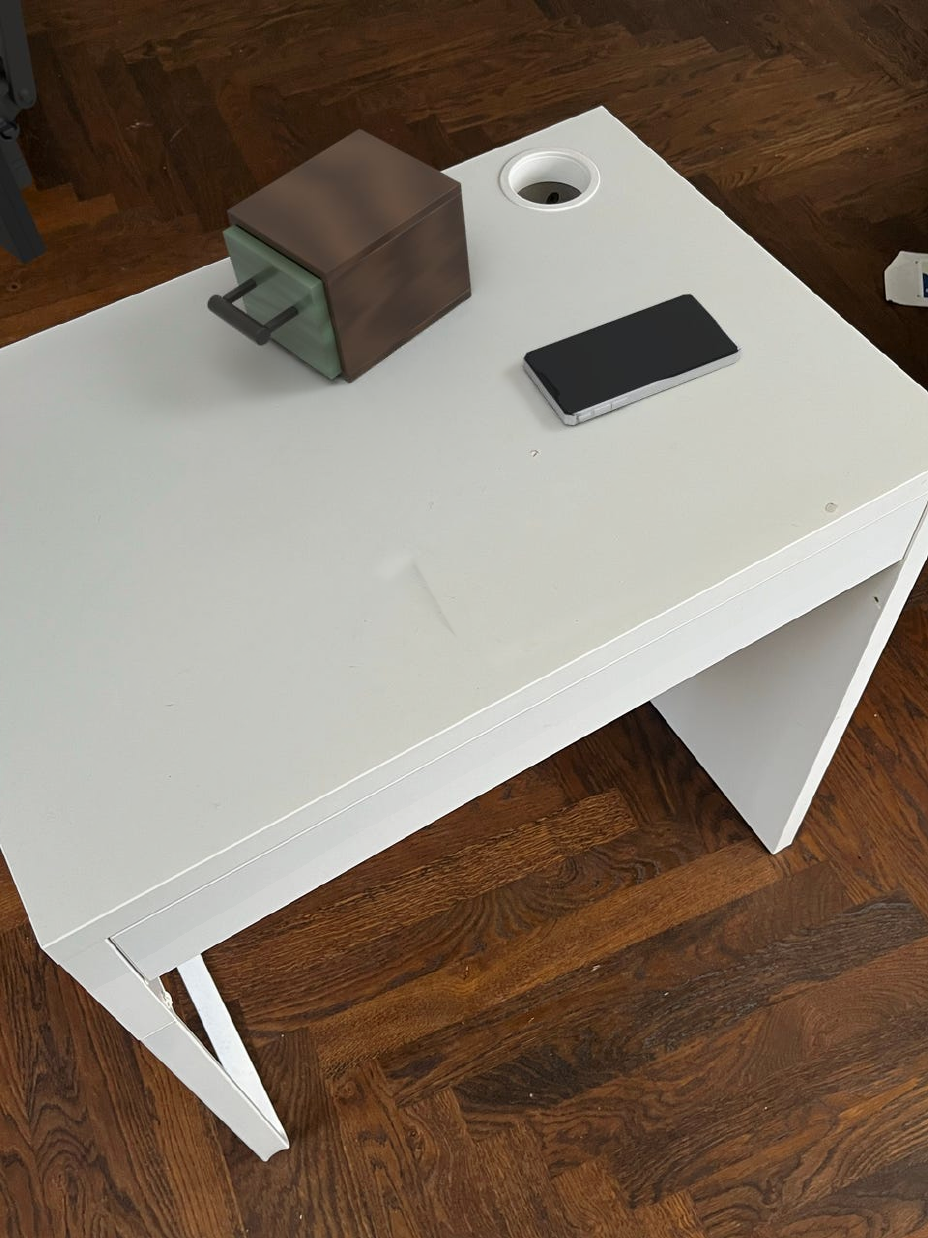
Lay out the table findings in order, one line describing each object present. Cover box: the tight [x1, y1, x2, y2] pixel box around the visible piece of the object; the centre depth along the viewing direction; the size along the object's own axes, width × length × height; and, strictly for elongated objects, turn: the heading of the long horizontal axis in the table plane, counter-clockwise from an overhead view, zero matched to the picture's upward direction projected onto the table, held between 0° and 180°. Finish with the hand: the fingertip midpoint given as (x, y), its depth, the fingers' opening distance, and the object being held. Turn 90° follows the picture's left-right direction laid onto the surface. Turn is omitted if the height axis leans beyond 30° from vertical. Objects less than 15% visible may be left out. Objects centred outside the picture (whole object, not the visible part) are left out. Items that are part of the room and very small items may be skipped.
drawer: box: [206, 225, 342, 380], centre depth 90 cm, size 17×10×9 cm, turn 135°
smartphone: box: [522, 293, 742, 426], centre depth 88 cm, size 8×1×15 cm
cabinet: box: [226, 128, 472, 384], centre depth 91 cm, size 14×12×11 cm
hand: (22, 247), depth 63 cm, fingers closed
